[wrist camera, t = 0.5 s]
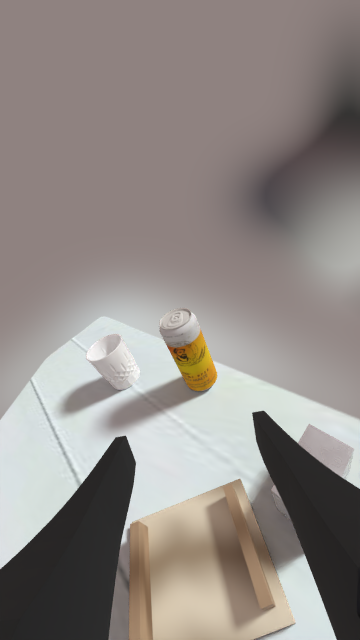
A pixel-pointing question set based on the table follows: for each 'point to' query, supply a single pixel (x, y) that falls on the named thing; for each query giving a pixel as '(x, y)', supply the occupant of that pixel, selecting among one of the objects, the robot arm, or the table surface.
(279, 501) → the aluminium block
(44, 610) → the robot arm
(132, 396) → the table surface
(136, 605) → the birch cradle
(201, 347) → the beer can
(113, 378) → the white cup
